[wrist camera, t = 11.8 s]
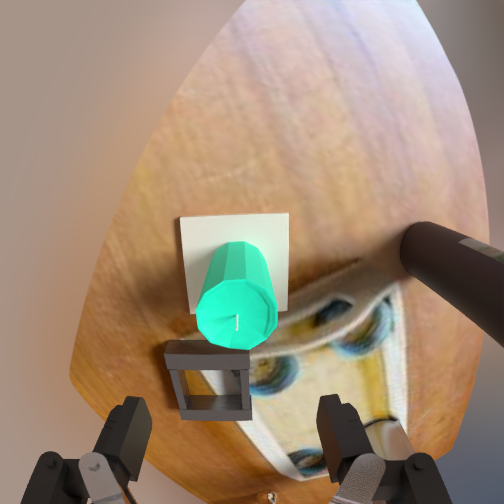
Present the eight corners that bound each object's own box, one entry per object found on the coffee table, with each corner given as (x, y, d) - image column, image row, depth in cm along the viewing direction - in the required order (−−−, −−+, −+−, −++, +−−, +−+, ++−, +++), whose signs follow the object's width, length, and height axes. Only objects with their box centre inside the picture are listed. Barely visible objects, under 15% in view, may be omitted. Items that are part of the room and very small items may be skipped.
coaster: (286, 211, 29) (288, 213, 28) (286, 306, 33) (287, 310, 32) (181, 216, 29) (179, 217, 28) (191, 310, 32) (190, 314, 31)
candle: (198, 269, 30) (174, 330, 18) (236, 228, 29) (233, 270, 17) (240, 304, 31) (240, 376, 20) (278, 266, 30) (300, 326, 19)
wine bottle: (444, 257, 32) (614, 376, 3) (406, 283, 32) (570, 444, 4) (432, 210, 30) (643, 309, 1) (391, 236, 31) (609, 391, 2)
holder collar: (248, 339, 34) (249, 353, 31) (251, 405, 37) (252, 420, 34) (169, 339, 33) (163, 353, 31) (184, 405, 37) (181, 419, 34)
